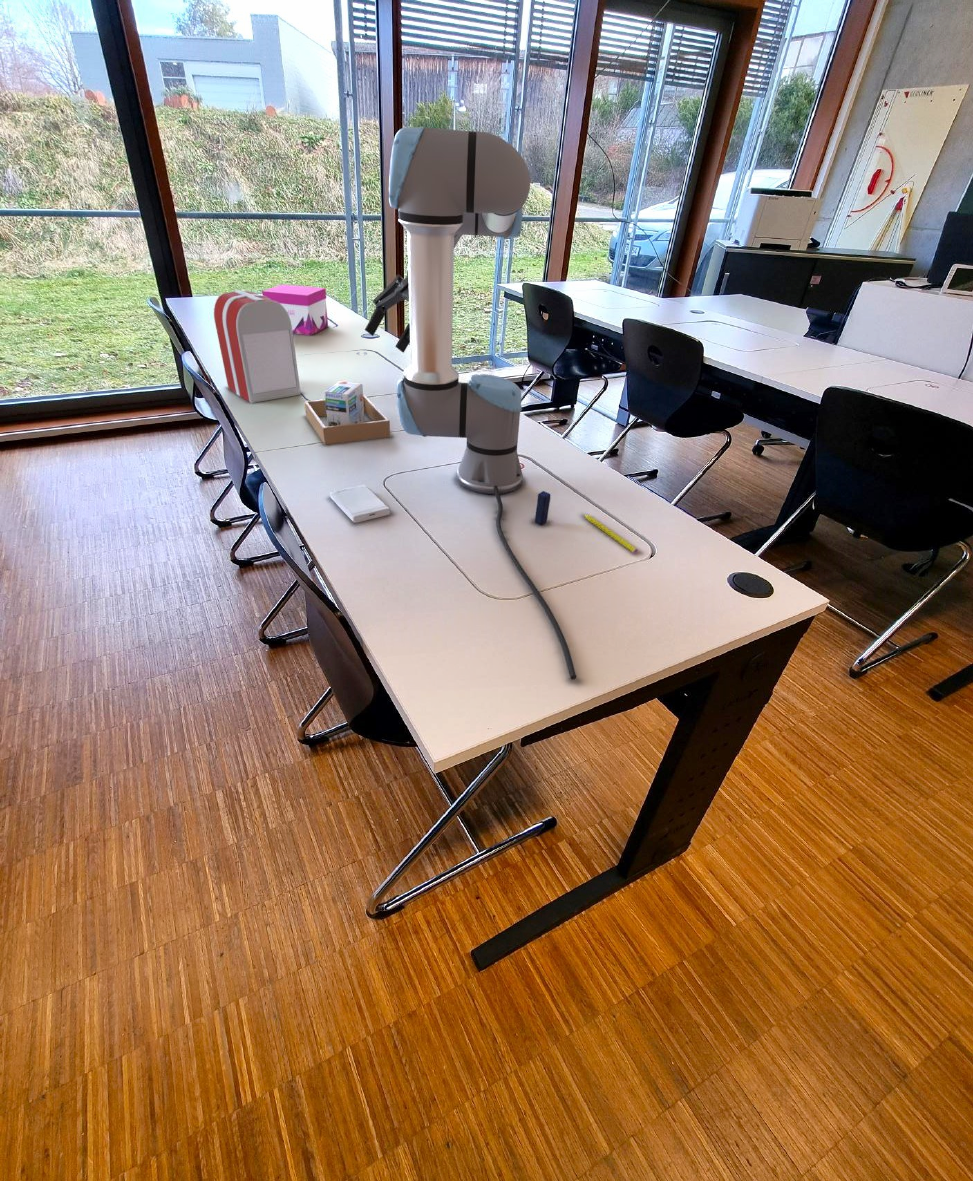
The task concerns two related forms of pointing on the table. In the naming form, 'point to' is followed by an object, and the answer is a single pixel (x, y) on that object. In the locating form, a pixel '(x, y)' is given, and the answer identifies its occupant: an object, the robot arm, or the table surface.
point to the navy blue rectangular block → (542, 508)
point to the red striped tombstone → (256, 346)
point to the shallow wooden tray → (348, 431)
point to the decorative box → (302, 306)
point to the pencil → (611, 534)
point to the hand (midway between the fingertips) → (383, 341)
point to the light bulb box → (344, 403)
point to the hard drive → (359, 503)
